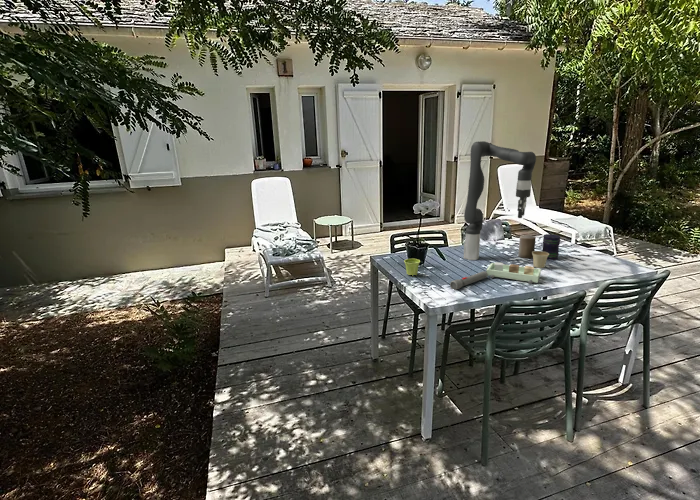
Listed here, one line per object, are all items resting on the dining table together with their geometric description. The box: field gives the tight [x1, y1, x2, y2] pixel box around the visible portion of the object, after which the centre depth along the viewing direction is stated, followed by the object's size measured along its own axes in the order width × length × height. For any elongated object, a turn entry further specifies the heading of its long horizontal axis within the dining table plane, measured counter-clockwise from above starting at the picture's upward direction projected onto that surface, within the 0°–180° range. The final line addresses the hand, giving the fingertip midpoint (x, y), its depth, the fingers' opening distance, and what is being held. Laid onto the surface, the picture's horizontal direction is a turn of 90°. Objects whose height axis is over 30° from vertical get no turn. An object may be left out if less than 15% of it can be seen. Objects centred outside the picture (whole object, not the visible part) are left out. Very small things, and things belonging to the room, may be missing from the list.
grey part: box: [494, 261, 504, 271], centre depth 224 cm, size 4×4×5 cm
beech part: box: [524, 265, 535, 275], centre depth 216 cm, size 4×4×5 cm
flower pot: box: [532, 250, 549, 269], centre depth 236 cm, size 9×9×9 cm
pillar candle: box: [517, 234, 536, 259], centre depth 255 cm, size 10×10×15 cm
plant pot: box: [403, 258, 421, 277], centre depth 228 cm, size 9×9×9 cm
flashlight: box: [449, 270, 489, 291], centre depth 212 cm, size 5×28×5 cm, turn 126°
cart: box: [485, 262, 542, 285], centre depth 220 cm, size 27×16×4 cm, turn 59°
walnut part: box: [509, 263, 520, 273], centre depth 220 cm, size 4×4×5 cm
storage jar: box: [541, 233, 561, 261], centre depth 251 cm, size 10×10×15 cm
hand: (521, 216), depth 221 cm, fingers open, 8 cm apart
